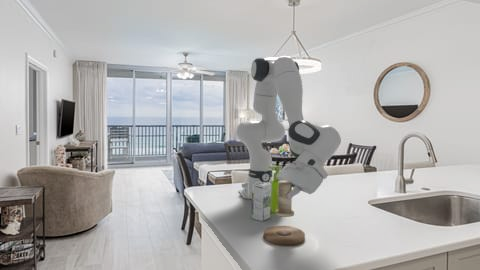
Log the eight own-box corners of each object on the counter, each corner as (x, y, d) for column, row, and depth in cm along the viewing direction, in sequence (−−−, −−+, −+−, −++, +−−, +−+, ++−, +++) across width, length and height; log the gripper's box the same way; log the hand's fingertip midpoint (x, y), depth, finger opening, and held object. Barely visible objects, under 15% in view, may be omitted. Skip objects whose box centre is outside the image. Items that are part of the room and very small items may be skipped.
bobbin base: (256, 232, 108) (256, 228, 108) (290, 227, 113) (290, 223, 113) (275, 248, 95) (275, 244, 95) (313, 242, 100) (313, 237, 100)
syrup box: (259, 215, 127) (259, 181, 126) (271, 218, 123) (271, 183, 122) (251, 218, 122) (251, 183, 121) (263, 222, 119) (263, 185, 118)
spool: (271, 212, 105) (272, 180, 104) (287, 210, 107) (288, 179, 107) (281, 217, 99) (281, 184, 98) (297, 215, 101) (298, 183, 101)
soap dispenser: (265, 210, 133) (266, 165, 132) (279, 208, 136) (280, 164, 135) (271, 214, 128) (272, 167, 127) (286, 212, 130) (286, 166, 129)
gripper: (287, 155, 114) (263, 183, 111) (320, 163, 95) (293, 196, 92) (297, 166, 116) (274, 194, 113) (331, 176, 97) (305, 209, 94)
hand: (283, 195), depth 102 cm, fingers closed on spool, 5 cm apart
